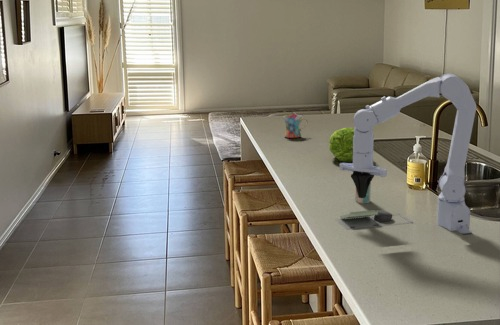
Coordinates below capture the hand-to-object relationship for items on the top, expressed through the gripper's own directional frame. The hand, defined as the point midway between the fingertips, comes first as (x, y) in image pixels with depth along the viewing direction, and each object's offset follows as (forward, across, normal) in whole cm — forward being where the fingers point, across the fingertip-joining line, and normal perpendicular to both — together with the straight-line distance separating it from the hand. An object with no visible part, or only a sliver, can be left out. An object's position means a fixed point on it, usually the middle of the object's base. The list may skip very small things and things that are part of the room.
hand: (362, 197), depth 189 cm
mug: (+9, +95, -98) cm, 137 cm away
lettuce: (+9, +50, -72) cm, 88 cm away
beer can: (+9, +10, -17) cm, 22 cm away
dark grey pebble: (+8, -4, -4) cm, 10 cm away
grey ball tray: (+9, -3, -1) cm, 9 cm away
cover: (+6, 0, +1) cm, 6 cm away
